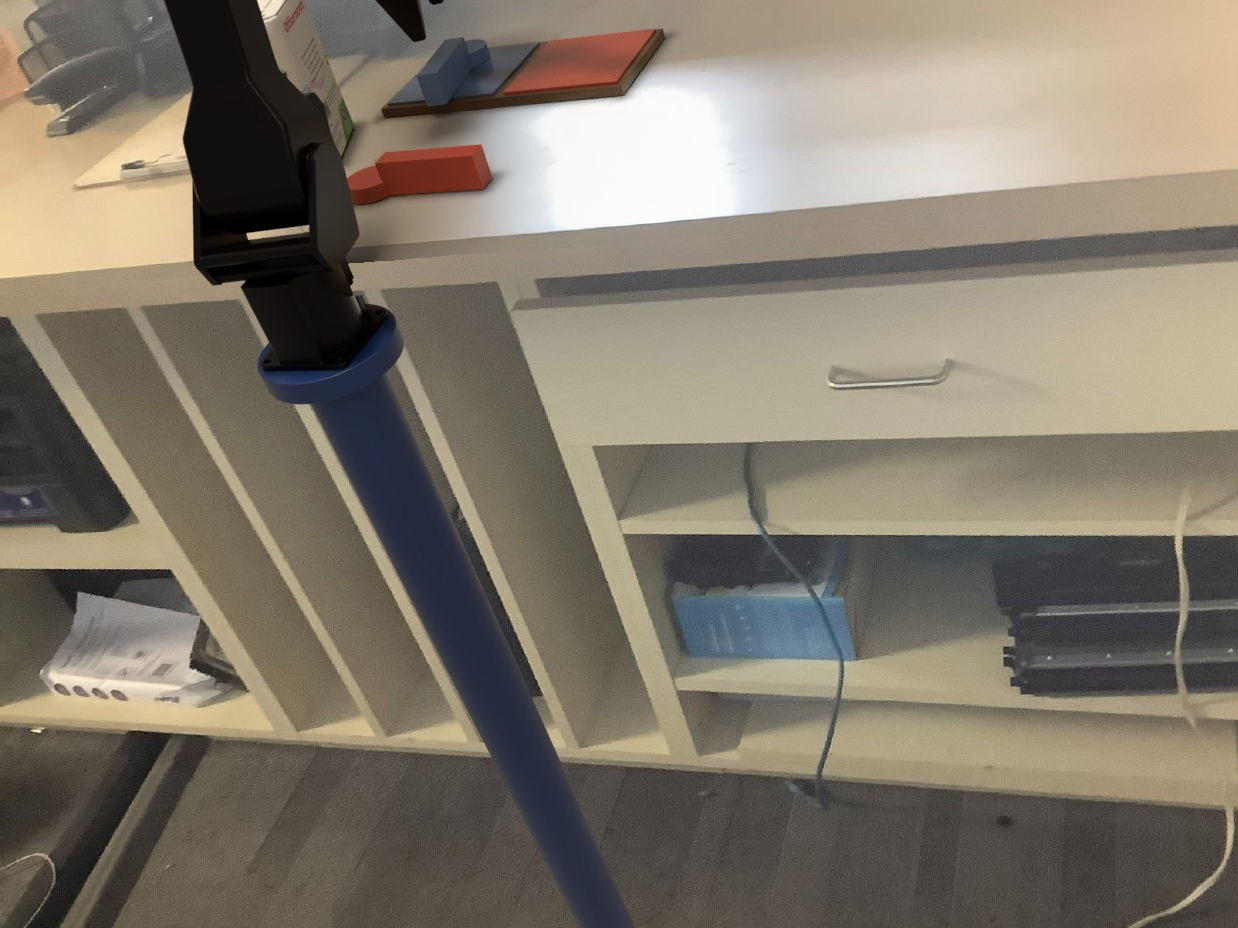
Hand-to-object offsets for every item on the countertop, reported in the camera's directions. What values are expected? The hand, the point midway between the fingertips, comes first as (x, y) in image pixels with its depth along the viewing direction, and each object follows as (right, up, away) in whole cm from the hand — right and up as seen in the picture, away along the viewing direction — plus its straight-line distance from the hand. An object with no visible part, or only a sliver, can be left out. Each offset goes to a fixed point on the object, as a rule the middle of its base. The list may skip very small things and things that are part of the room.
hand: (429, 21), depth 93 cm
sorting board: (+7, -3, +4) cm, 9 cm away
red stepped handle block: (+1, -16, -9) cm, 19 cm away
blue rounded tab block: (+1, -3, +5) cm, 6 cm away
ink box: (-9, -11, +1) cm, 14 cm away
